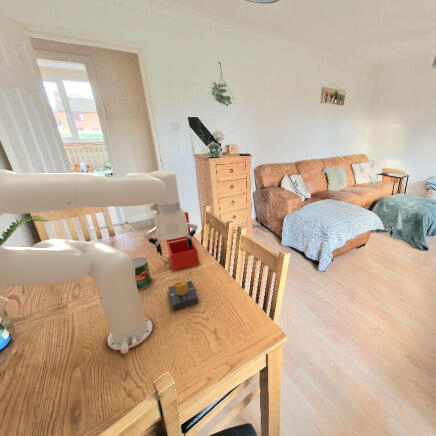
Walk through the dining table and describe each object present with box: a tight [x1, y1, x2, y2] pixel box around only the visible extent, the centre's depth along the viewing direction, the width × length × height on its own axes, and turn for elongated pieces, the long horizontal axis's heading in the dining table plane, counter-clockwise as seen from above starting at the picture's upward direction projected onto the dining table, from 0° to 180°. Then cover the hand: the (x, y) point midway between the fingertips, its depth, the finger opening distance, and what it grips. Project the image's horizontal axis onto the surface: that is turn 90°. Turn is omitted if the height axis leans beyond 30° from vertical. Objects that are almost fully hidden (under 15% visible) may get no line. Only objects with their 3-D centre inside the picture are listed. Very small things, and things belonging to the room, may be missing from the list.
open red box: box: [166, 238, 200, 272], centre depth 119 cm, size 14×12×9 cm
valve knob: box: [174, 279, 188, 296], centre depth 95 cm, size 4×4×5 cm
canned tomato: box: [131, 257, 153, 291], centre depth 101 cm, size 8×8×11 cm
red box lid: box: [166, 211, 191, 243], centre depth 122 cm, size 14×12×6 cm
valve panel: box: [167, 280, 199, 312], centre depth 96 cm, size 12×9×3 cm
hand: (175, 250), depth 88 cm, fingers open, 9 cm apart
